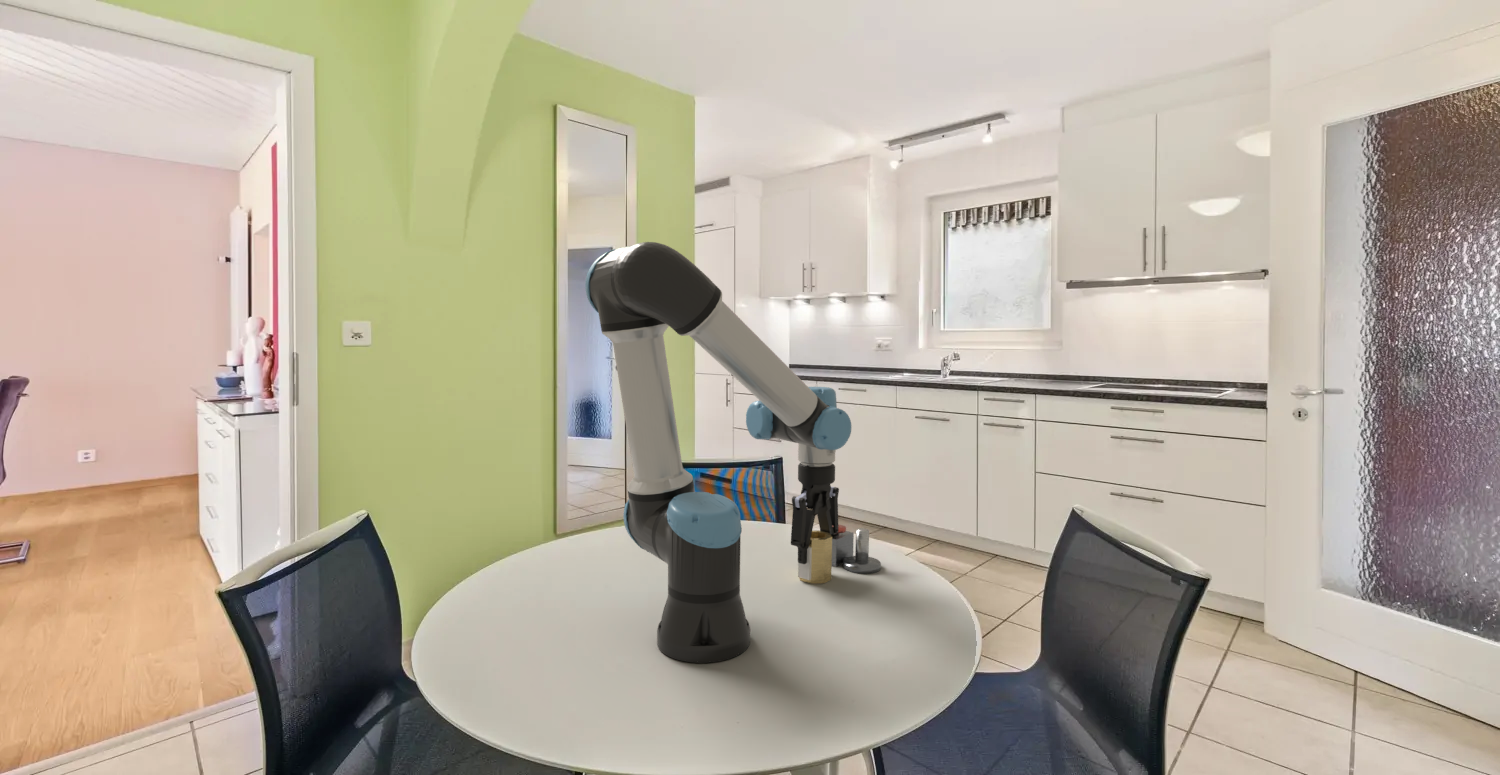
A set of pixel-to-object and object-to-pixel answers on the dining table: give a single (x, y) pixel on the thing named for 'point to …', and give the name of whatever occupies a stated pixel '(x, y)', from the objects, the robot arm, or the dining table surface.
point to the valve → (844, 552)
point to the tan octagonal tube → (820, 557)
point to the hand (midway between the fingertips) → (814, 573)
